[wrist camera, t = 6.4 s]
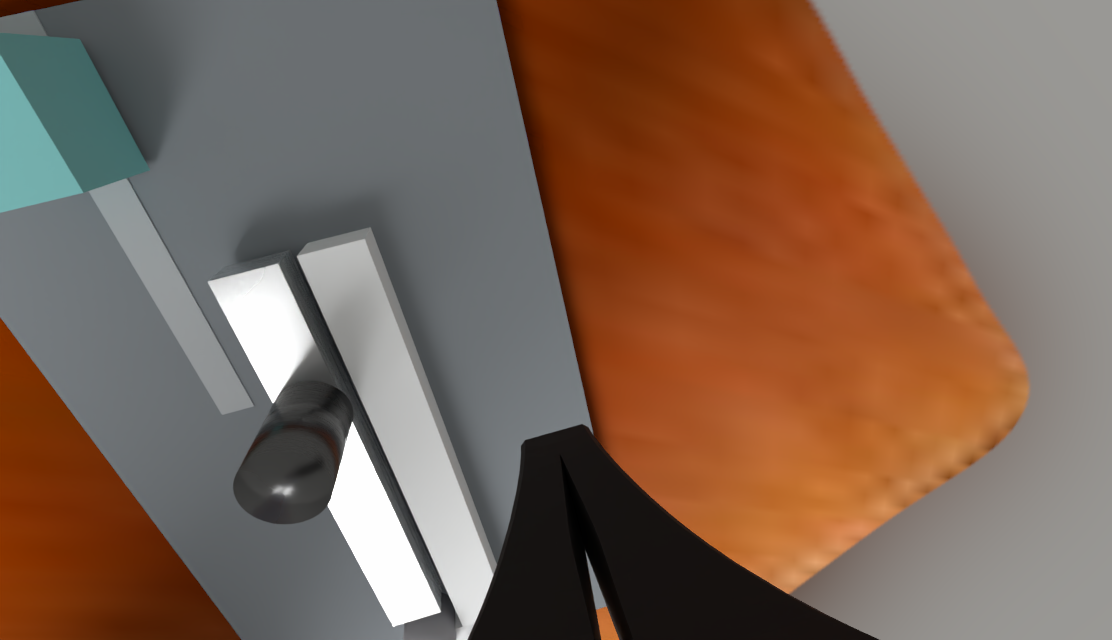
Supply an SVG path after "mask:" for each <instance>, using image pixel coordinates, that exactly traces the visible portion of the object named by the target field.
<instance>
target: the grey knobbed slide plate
mask: <svg viewBox="0 0 1112 640" xmlns="http://www.w3.org/2000/svg"><path fill="white" fill-rule="evenodd" d="M0 33H11V34H24V35H36V36H49V37H61V38H74V39H80V40H81V42H82V44H83V46H84V48H85V50H86V51H87V53H88V55H89V57H90V59H91V61H92V63H93V64H94V66H95V68H96V70H97V72H98V74H99V76H100V78H101V79H102V81H103V83H104V85H105V87H106V89H107V91H108V92H109V94H110V96H111V98H112V100H113V102H114V104H115V106H116V107H117V109H118V111H119V113H120V115H121V117H122V119H123V120H124V122H125V124H126V126H127V128H128V130H129V132H130V133H131V135H132V137H133V139H134V141H135V143H136V145H137V147H138V148H139V150H140V152H141V154H142V156H143V158H144V160H145V161H146V163H147V165H148V167H149V169H150V170H149V171H146V172H143V173H140V174H137V175H134V176H132V177H129V178H126V179H123V180H120V181H117V182H114V183H111V184H108V185H105V186H102V187H99V188H96V189H93V190H90V191H87V192H84V193H81V194H76V195H72V196H68V197H64V198H60V199H56V200H51V201H47V202H43V203H39V204H35V205H30V206H26V207H22V208H18V209H14V210H10V211H5V212H1V213H0V317H1V319H2V320H3V321H4V323H5V324H6V325H7V327H8V328H9V329H10V331H11V332H12V333H13V335H14V336H15V337H16V339H17V340H18V341H19V343H20V344H21V345H22V347H23V348H24V349H25V351H26V352H27V353H28V355H29V356H30V357H31V359H32V360H33V361H34V363H35V364H36V365H37V367H38V368H39V369H40V371H41V372H42V373H43V375H44V376H45V378H46V379H47V380H48V382H49V383H50V384H51V386H52V387H53V388H54V390H55V391H56V392H57V394H58V395H59V396H60V398H61V399H62V400H63V402H64V403H65V404H66V406H67V407H68V408H69V410H70V411H71V412H72V414H73V415H74V416H75V418H76V419H77V420H78V422H79V423H80V424H81V426H82V427H83V428H84V430H85V431H86V432H87V434H88V435H89V436H90V438H91V439H92V440H93V442H94V443H95V444H96V446H97V447H98V448H99V450H100V451H101V452H102V454H103V455H104V456H105V458H106V459H107V460H108V462H109V463H110V464H111V466H112V467H113V468H114V470H115V471H116V472H117V474H118V475H119V476H120V478H121V479H122V480H123V482H124V483H125V484H126V486H127V487H128V488H129V490H130V491H131V493H132V494H133V495H134V497H135V498H136V499H137V501H138V502H139V503H140V505H141V506H142V507H143V509H144V510H145V511H146V513H147V514H148V515H149V517H150V518H151V519H152V521H153V522H154V523H155V525H156V526H157V527H158V529H159V530H160V531H161V533H162V534H163V535H164V537H165V538H166V539H167V541H168V542H169V543H170V545H171V546H172V547H173V549H174V550H175V551H176V553H177V554H178V555H179V557H180V558H181V559H182V561H183V562H184V563H185V565H186V566H187V567H188V569H189V570H190V571H191V573H192V574H193V575H194V577H195V578H196V579H197V581H198V582H199V583H200V585H201V586H202V587H203V589H204V590H205V591H206V593H207V594H208V595H209V597H210V598H211V599H212V601H213V602H214V603H215V605H216V606H217V608H218V609H219V610H220V612H221V613H222V614H223V616H224V617H225V618H226V620H227V621H228V622H229V624H230V625H231V626H232V628H233V629H234V630H235V632H236V633H237V634H238V636H239V637H240V638H241V640H467V639H468V637H469V635H470V633H471V630H472V628H473V626H474V624H475V621H476V619H477V617H478V614H479V612H480V610H481V607H482V604H483V602H484V599H485V597H486V594H487V592H488V589H489V586H490V583H491V581H492V578H493V575H494V572H495V569H496V566H497V563H498V560H499V557H500V553H501V550H502V546H503V543H504V540H505V536H506V533H507V529H508V526H509V522H510V518H511V513H512V508H513V504H514V499H515V495H516V490H517V484H518V478H519V471H520V461H521V445H522V444H523V442H524V441H525V440H527V439H531V438H534V437H538V436H541V435H545V434H548V433H552V432H555V431H559V430H562V429H566V428H569V427H573V426H576V425H580V424H583V425H585V426H587V427H589V429H590V431H591V432H592V434H593V430H592V426H591V421H590V417H589V412H588V408H587V404H586V399H585V395H584V390H583V386H582V381H581V377H580V372H579V368H578V363H577V359H576V354H575V350H574V345H573V341H572V336H571V332H570V328H569V323H568V319H567V314H566V310H565V305H564V301H563V296H562V292H561V287H560V283H559V278H558V274H557V269H556V265H555V261H554V256H553V252H552V247H551V243H550V238H549V234H548V229H547V225H546V220H545V216H544V211H543V207H542V202H541V198H540V193H539V189H538V185H537V180H536V176H535V171H534V167H533V162H532V158H531V153H530V149H529V144H528V140H527V135H526V131H525V126H524V122H523V117H522V113H521V109H520V104H519V100H518V95H517V91H516V86H515V82H514V77H513V73H512V68H511V64H510V59H509V55H508V50H507V46H506V41H505V37H504V33H503V28H502V24H501V19H500V15H499V10H498V6H497V1H496V0H81V1H76V2H72V3H67V4H62V5H58V6H53V7H49V8H44V9H39V10H35V11H28V12H23V13H19V14H14V15H10V16H5V17H0ZM287 250H291V252H292V254H293V257H294V259H295V261H296V263H297V266H298V268H299V270H300V272H301V274H302V277H303V279H304V281H305V283H306V285H307V288H308V290H309V292H310V294H311V297H312V299H313V301H314V303H315V305H316V308H317V310H318V312H319V314H320V316H321V319H322V321H323V323H324V325H325V328H326V330H327V332H328V334H329V336H330V339H331V341H332V343H333V345H334V348H335V350H336V352H337V354H338V356H339V359H340V361H341V363H342V365H343V367H344V370H345V372H346V374H347V376H348V379H349V381H350V383H351V385H352V387H353V390H354V392H355V394H356V396H357V398H358V401H359V403H360V405H361V407H362V410H363V412H364V414H365V416H366V418H367V421H368V423H369V425H370V427H371V429H372V432H373V434H374V436H375V438H376V441H377V443H378V445H379V447H380V449H381V452H382V454H383V456H384V458H385V460H386V463H387V465H388V467H389V469H390V472H391V474H392V476H393V478H394V480H395V483H396V485H397V487H398V489H399V491H400V494H401V496H402V498H403V500H404V503H405V505H406V507H407V509H408V511H409V514H410V516H411V518H412V520H413V522H414V525H415V527H416V529H417V531H418V534H419V536H420V538H421V540H422V542H423V545H424V547H425V549H426V551H427V553H428V556H429V558H430V560H431V562H432V565H433V567H434V569H435V571H436V573H437V576H438V578H439V580H440V582H441V584H442V589H441V612H440V613H437V614H433V615H430V616H427V617H423V618H420V619H417V620H413V621H410V622H407V623H404V624H400V625H397V626H394V627H393V625H392V623H391V622H390V620H389V618H388V616H387V614H386V612H385V610H384V609H383V607H382V605H381V603H380V601H379V599H378V598H377V596H376V594H375V592H374V590H373V588H372V586H371V585H370V583H369V581H368V579H367V577H366V575H365V573H364V572H363V570H362V568H361V566H360V564H359V562H358V560H357V559H356V557H355V555H354V553H353V551H352V549H351V547H350V546H349V544H348V542H347V540H346V538H345V536H344V534H343V533H342V531H341V529H340V527H339V525H338V523H337V521H336V520H335V518H334V516H333V514H332V512H331V510H330V508H329V507H328V506H327V507H326V508H325V509H324V510H323V511H322V512H321V513H320V514H319V515H317V516H315V517H314V518H312V519H310V520H307V521H304V522H300V523H296V524H274V523H269V522H265V521H262V520H260V519H257V518H255V517H253V516H252V515H250V514H249V513H247V512H246V511H245V510H244V509H243V508H242V507H241V506H240V505H239V503H238V502H237V500H236V498H235V495H234V492H233V482H234V478H235V476H236V473H237V471H238V469H239V468H240V466H241V464H242V462H243V460H244V458H245V456H246V454H247V452H248V450H249V449H250V447H251V445H252V443H253V441H254V439H255V437H256V435H257V433H258V431H259V430H260V428H261V426H262V424H263V422H264V420H265V418H266V416H267V414H268V412H269V411H270V409H271V407H272V405H273V403H272V401H271V399H270V397H269V395H268V393H267V391H266V390H265V388H264V386H263V384H262V382H261V380H260V378H259V377H258V375H257V373H256V371H255V369H254V367H253V366H252V364H251V362H250V360H249V358H248V356H247V354H246V353H245V351H244V349H243V347H242V345H241V343H240V341H239V340H238V338H237V336H236V334H235V332H234V330H233V328H232V327H231V325H230V323H229V321H228V319H227V317H226V315H225V314H224V312H223V310H222V308H221V306H220V304H219V302H218V301H217V299H216V297H215V295H214V293H213V291H212V289H211V288H210V286H209V284H208V281H209V280H210V279H211V278H212V277H213V276H214V275H215V274H217V273H218V272H219V271H220V270H221V269H222V268H223V267H225V266H228V265H232V264H236V263H240V262H244V261H248V260H252V259H256V258H260V257H264V256H268V255H272V254H276V253H279V252H283V251H287ZM586 557H587V562H588V568H589V574H590V579H591V585H592V591H593V596H594V602H595V608H596V609H599V608H603V607H606V603H605V600H604V598H603V595H602V593H601V590H600V587H599V585H598V582H597V579H596V577H595V574H594V572H593V569H592V566H591V564H590V561H589V559H588V556H587V553H586Z"/></svg>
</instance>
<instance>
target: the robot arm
mask: <svg viewBox="0 0 1112 640" xmlns="http://www.w3.org/2000/svg"><path fill="white" fill-rule="evenodd" d="M586 553H587V556H588V559H589V561H590V564H591V566H592V569H593V572H594V574H595V577H596V579H597V582H598V585H599V587H600V590H601V593H602V595H603V598H604V600H605V603H606V606H607V608H608V611H609V613H610V616H611V619H612V621H613V624H614V626H615V629H616V632H617V634H618V637H619V639H620V640H879V639H877V638H874V637H872V636H870V635H868V634H866V633H863V632H861V631H859V630H857V629H855V628H853V627H851V626H848V625H847V624H844V623H842V622H840V621H838V620H836V619H834V618H832V617H830V616H828V615H826V614H824V613H822V612H820V611H818V610H817V609H815V608H813V607H811V606H809V605H807V604H806V603H804V602H802V601H800V600H798V599H796V598H794V597H792V596H791V595H789V594H787V593H785V592H784V591H782V590H780V589H779V588H777V587H775V586H774V585H772V584H770V583H769V582H767V581H765V580H764V579H762V578H760V577H759V576H757V575H755V574H754V573H752V572H750V571H749V570H747V569H745V568H744V567H742V566H740V565H739V564H737V563H736V562H734V561H733V560H731V559H730V558H728V557H727V556H725V555H724V554H722V553H721V552H720V551H718V550H717V549H715V548H714V547H712V546H711V545H709V544H708V543H707V542H705V541H704V540H703V539H701V538H700V537H699V536H697V535H696V534H694V533H693V532H692V531H690V530H689V529H688V528H687V527H685V526H684V525H683V524H682V523H680V522H679V521H678V520H677V519H675V518H674V517H673V516H672V515H671V514H669V513H668V512H667V511H666V510H665V509H664V508H662V507H661V506H660V505H659V504H658V503H657V502H656V501H654V500H653V499H652V498H651V497H650V496H649V495H648V494H647V493H646V492H645V491H644V490H642V489H641V488H640V487H639V486H638V485H637V484H636V483H635V482H634V481H633V480H632V479H631V478H630V477H629V476H628V475H627V474H626V473H625V472H624V471H623V470H622V469H621V467H620V466H619V465H618V464H617V463H616V462H615V461H614V460H613V459H612V458H611V456H610V455H609V454H608V453H607V452H606V451H605V449H604V448H603V447H602V446H601V445H600V443H599V442H598V441H597V439H596V438H595V437H594V435H593V434H592V432H591V431H590V429H589V427H587V426H585V425H583V424H580V425H576V426H573V427H569V428H566V429H562V430H559V431H555V432H552V433H548V434H545V435H541V436H538V437H534V438H531V439H527V440H525V441H524V442H523V444H522V445H521V461H520V471H519V478H518V484H517V490H516V495H515V499H514V504H513V508H512V513H511V518H510V522H509V526H508V529H507V533H506V536H505V540H504V543H503V546H502V550H501V553H500V557H499V560H498V563H497V566H496V569H495V572H494V575H493V578H492V581H491V583H490V586H489V589H488V592H487V594H486V597H485V599H484V602H483V604H482V607H481V610H480V612H479V614H478V617H477V619H476V621H475V624H474V626H473V628H472V630H471V633H470V635H469V637H468V639H467V640H601V636H600V630H599V625H598V619H597V613H596V608H595V602H594V596H593V591H592V585H591V579H590V574H589V568H588V562H587V557H586Z"/></svg>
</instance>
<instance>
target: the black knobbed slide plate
mask: <svg viewBox="0 0 1112 640" xmlns="http://www.w3.org/2000/svg"><path fill="white" fill-rule="evenodd" d="M208 284H209V286H210V288H211V289H212V291H213V293H214V295H215V297H216V299H217V301H218V302H219V304H220V306H221V308H222V310H223V312H224V314H225V315H226V317H227V319H228V321H229V323H230V325H231V327H232V328H233V330H234V332H235V334H236V336H237V338H238V340H239V341H240V343H241V345H242V347H243V349H244V351H245V353H246V354H247V356H248V358H249V360H250V362H251V364H252V366H253V367H254V369H255V371H256V373H257V375H258V377H259V378H260V380H261V382H262V384H263V386H264V388H265V390H266V391H267V393H268V395H269V397H270V399H271V401H272V403H273V405H272V407H271V409H270V411H269V412H268V414H267V416H266V418H265V420H264V422H263V424H262V426H261V428H260V430H259V431H258V433H257V435H256V437H255V439H254V441H253V443H252V445H251V447H250V449H249V450H248V452H247V454H246V456H245V458H244V460H243V462H242V464H241V466H240V468H239V469H238V471H237V473H236V476H235V478H234V482H233V492H234V495H235V498H236V500H237V502H238V503H239V505H240V506H241V507H242V508H243V509H244V510H245V511H246V512H247V513H249V514H250V515H252V516H253V517H255V518H257V519H260V520H262V521H265V522H269V523H274V524H296V523H300V522H304V521H307V520H310V519H312V518H314V517H315V516H317V515H319V514H320V513H321V512H322V511H323V510H324V509H325V508H326V507H327V506H328V507H329V508H330V510H331V512H332V514H333V516H334V518H335V520H336V521H337V523H338V525H339V527H340V529H341V531H342V533H343V534H344V536H345V538H346V540H347V542H348V544H349V546H350V547H351V549H352V551H353V553H354V555H355V557H356V559H357V560H358V562H359V564H360V566H361V568H362V570H363V572H364V573H365V575H366V577H367V579H368V581H369V583H370V585H371V586H372V588H373V590H374V592H375V594H376V596H377V598H378V599H379V601H380V603H381V605H382V607H383V609H384V610H385V612H386V614H387V616H388V618H389V620H390V622H391V623H392V625H393V627H394V626H397V625H400V624H404V623H407V622H410V621H413V620H417V619H420V618H423V617H427V616H430V615H433V614H437V613H440V612H441V589H442V584H441V582H440V580H439V578H438V576H437V573H436V571H435V569H434V567H433V565H432V562H431V560H430V558H429V556H428V553H427V551H426V549H425V547H424V545H423V542H422V540H421V538H420V536H419V534H418V531H417V529H416V527H415V525H414V522H413V520H412V518H411V516H410V514H409V511H408V509H407V507H406V505H405V503H404V500H403V498H402V496H401V494H400V491H399V489H398V487H397V485H396V483H395V480H394V478H393V476H392V474H391V472H390V469H389V467H388V465H387V463H386V460H385V458H384V456H383V454H382V452H381V449H380V447H379V445H378V443H377V441H376V438H375V436H374V434H373V432H372V429H371V427H370V425H369V423H368V421H367V418H366V416H365V414H364V412H363V410H362V407H361V405H360V403H359V401H358V398H357V396H356V394H355V392H354V390H353V387H352V385H351V383H350V381H349V379H348V376H347V374H346V372H345V370H344V367H343V365H342V363H341V361H340V359H339V356H338V354H337V352H336V350H335V348H334V345H333V343H332V341H331V339H330V336H329V334H328V332H327V330H326V328H325V325H324V323H323V321H322V319H321V316H320V314H319V312H318V310H317V308H316V305H315V303H314V301H313V299H312V297H311V294H310V292H309V290H308V288H307V285H306V283H305V281H304V279H303V277H302V274H301V272H300V270H299V268H298V266H297V263H296V261H295V259H294V257H293V254H292V252H291V250H287V251H283V252H279V253H276V254H272V255H268V256H264V257H260V258H256V259H252V260H248V261H244V262H240V263H236V264H232V265H228V266H225V267H223V268H222V269H221V270H220V271H219V272H218V273H217V274H215V275H214V276H213V277H212V278H211V279H210V280H209V281H208Z"/></svg>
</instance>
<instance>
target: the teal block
mask: <svg viewBox="0 0 1112 640" xmlns="http://www.w3.org/2000/svg"><path fill="white" fill-rule="evenodd" d="M149 170H150V169H149V167H148V165H147V163H146V161H145V160H144V158H143V156H142V154H141V152H140V150H139V148H138V147H137V145H136V143H135V141H134V139H133V137H132V135H131V133H130V132H129V130H128V128H127V126H126V124H125V122H124V120H123V119H122V117H121V115H120V113H119V111H118V109H117V107H116V106H115V104H114V102H113V100H112V98H111V96H110V94H109V92H108V91H107V89H106V87H105V85H104V83H103V81H102V79H101V78H100V76H99V74H98V72H97V70H96V68H95V66H94V64H93V63H92V61H91V59H90V57H89V55H88V53H87V51H86V50H85V48H84V46H83V44H82V42H81V40H80V39H74V38H61V37H49V36H36V35H24V34H11V33H0V213H1V212H5V211H10V210H14V209H18V208H22V207H26V206H30V205H35V204H39V203H43V202H47V201H51V200H56V199H60V198H64V197H68V196H72V195H76V194H81V193H84V192H87V191H90V190H93V189H96V188H99V187H102V186H105V185H108V184H111V183H114V182H117V181H120V180H123V179H126V178H129V177H132V176H134V175H137V174H140V173H143V172H146V171H149Z"/></svg>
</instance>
